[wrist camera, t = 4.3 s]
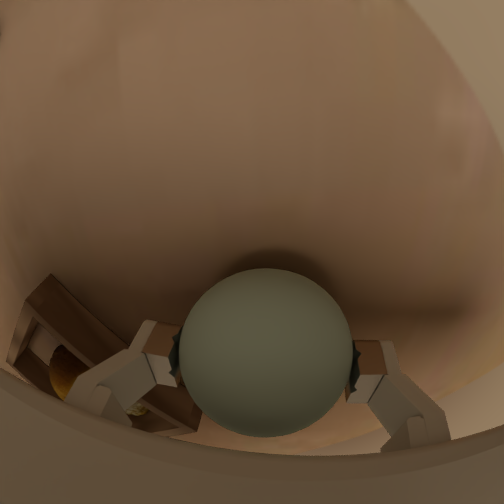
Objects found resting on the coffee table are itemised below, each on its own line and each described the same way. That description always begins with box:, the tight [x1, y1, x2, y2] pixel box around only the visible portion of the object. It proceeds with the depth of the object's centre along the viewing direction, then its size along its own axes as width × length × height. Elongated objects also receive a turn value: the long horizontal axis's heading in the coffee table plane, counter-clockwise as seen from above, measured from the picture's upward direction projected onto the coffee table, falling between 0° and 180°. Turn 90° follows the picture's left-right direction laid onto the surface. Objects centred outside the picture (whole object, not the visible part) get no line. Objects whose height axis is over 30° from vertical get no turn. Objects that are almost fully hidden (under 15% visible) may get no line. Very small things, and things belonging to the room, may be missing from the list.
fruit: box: [49, 345, 149, 416], centre depth 17 cm, size 8×8×4 cm
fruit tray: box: [6, 274, 202, 437], centre depth 17 cm, size 14×13×2 cm
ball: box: [179, 268, 353, 437], centre depth 10 cm, size 6×6×6 cm
